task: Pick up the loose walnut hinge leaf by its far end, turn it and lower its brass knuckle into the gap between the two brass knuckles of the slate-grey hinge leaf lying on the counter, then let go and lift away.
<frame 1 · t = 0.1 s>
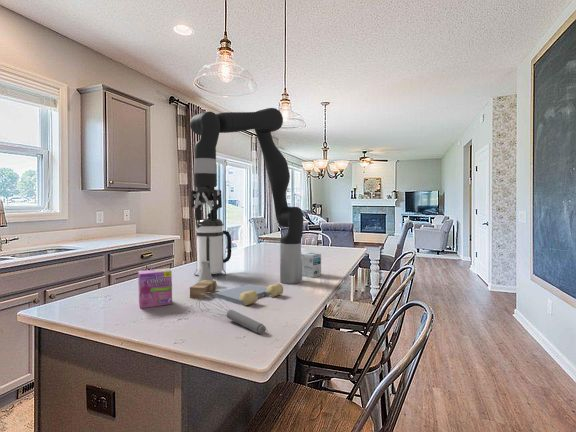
hand: (205, 220, 116), 29 cm above the worktop, tool pointing down, fingers open, 8 cm apart
flask: (205, 285, 146), on the worktop
kitchen whisk: (230, 321, 103), on the worktop
walnut leaf: (202, 294, 131), on the worktop
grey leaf: (246, 295, 129), on the worktop
coffee press: (212, 275, 166), on the worktop
box: (155, 304, 118), on the worktop
light bulb box: (308, 275, 165), on the worktop
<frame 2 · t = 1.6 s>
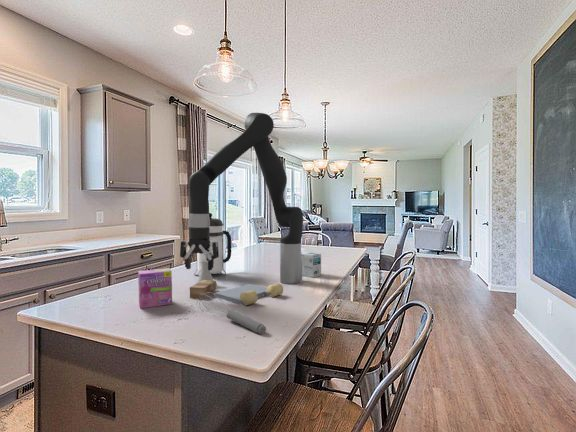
hand: (199, 269, 127), 10 cm above the worktop, tool pointing down, fingers open, 8 cm apart
nothing on the worktop moved.
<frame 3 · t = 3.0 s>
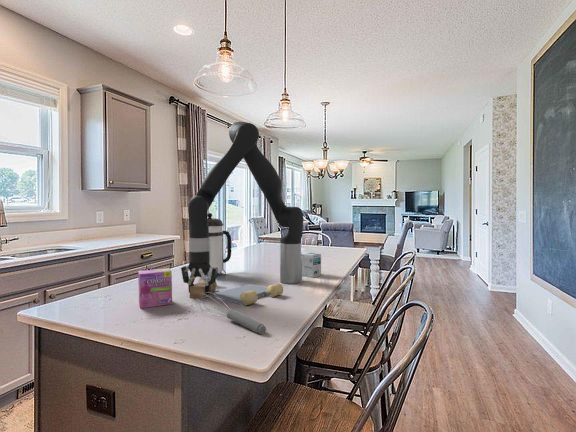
hand: (199, 294, 128), 1 cm above the worktop, tool pointing down, fingers closed on walnut leaf, 5 cm apart
walnut leaf: (202, 294, 131), on the worktop, touching gripper
everything else where it was.
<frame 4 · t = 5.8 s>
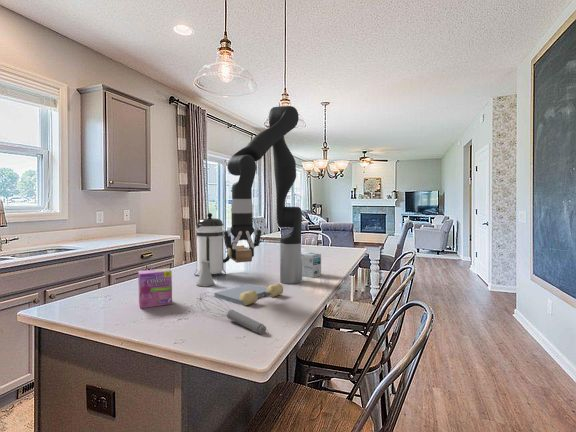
hand: (242, 258, 123), 15 cm above the worktop, tool pointing down, fingers closed on walnut leaf, 5 cm apart
walnut leaf: (240, 259, 125), point 14 cm above the worktop, touching gripper
everything else where it was.
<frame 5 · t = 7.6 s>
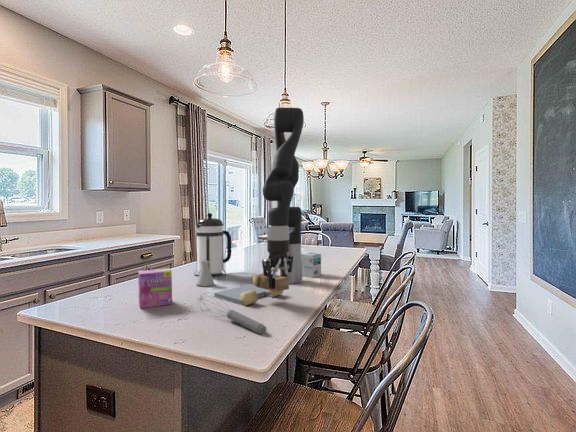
hand: (278, 286, 119), 6 cm above the worktop, tool pointing down, fingers closed on walnut leaf, 5 cm apart
walnut leaf: (272, 288, 120), point 5 cm above the worktop, touching gripper
everything else where it was.
when the fingers open (2 cm above the worktop, at t = 8.8 s): walnut leaf drops 1 cm, on the worktop.
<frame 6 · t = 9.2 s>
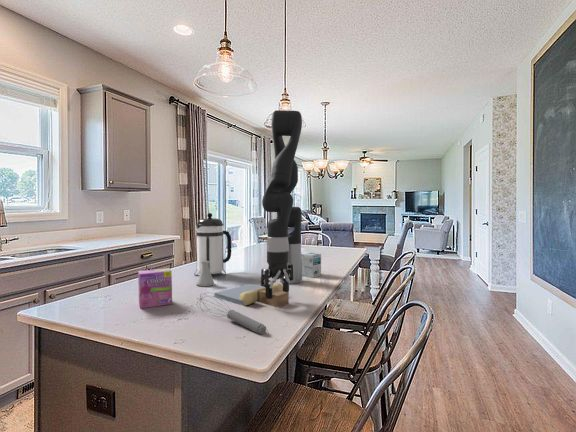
hand: (277, 295, 119), 3 cm above the worktop, tool pointing down, fingers open, 8 cm apart
walnut leaf: (272, 302, 121), on the worktop
everything else where it was.
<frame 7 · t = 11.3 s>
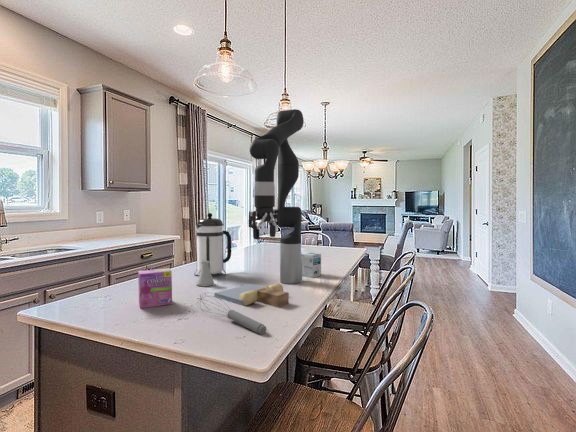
hand: (264, 238, 127), 22 cm above the worktop, tool pointing down, fingers open, 8 cm apart
nothing on the worktop moved.
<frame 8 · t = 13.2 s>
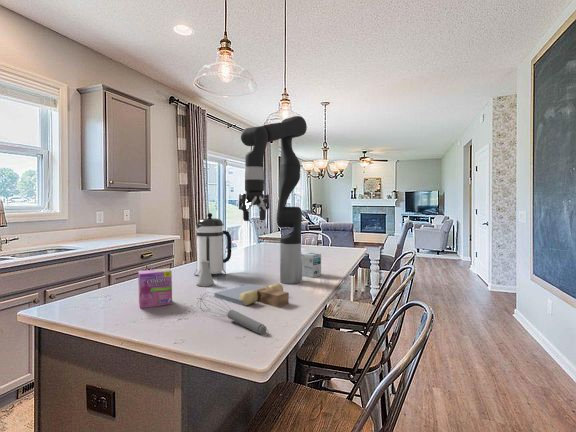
hand: (254, 220, 134), 28 cm above the worktop, tool pointing down, fingers open, 8 cm apart
nothing on the worktop moved.
at the end: walnut leaf 0.2 cm from the target spot on the worktop beside the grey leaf, on the worktop; walnut leaf tilted 0°; the gripper is holding nothing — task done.
